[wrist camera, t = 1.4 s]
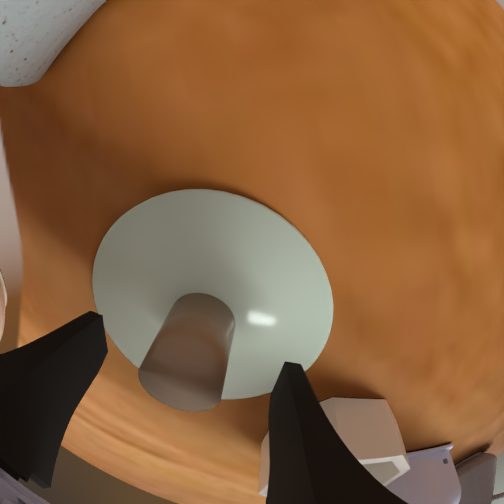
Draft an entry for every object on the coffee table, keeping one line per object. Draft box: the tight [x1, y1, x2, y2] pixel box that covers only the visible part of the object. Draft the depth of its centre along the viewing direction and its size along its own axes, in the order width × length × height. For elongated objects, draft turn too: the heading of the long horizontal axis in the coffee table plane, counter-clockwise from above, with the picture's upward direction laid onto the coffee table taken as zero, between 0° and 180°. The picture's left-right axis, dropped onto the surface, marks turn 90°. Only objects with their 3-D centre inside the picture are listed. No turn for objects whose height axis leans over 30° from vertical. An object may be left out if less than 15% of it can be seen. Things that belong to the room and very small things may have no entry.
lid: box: [92, 189, 333, 412], centre depth 11 cm, size 12×12×5 cm
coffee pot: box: [455, 452, 504, 504], centre depth 14 cm, size 21×12×15 cm, turn 140°
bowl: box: [258, 397, 410, 497], centre depth 14 cm, size 9×9×4 cm
